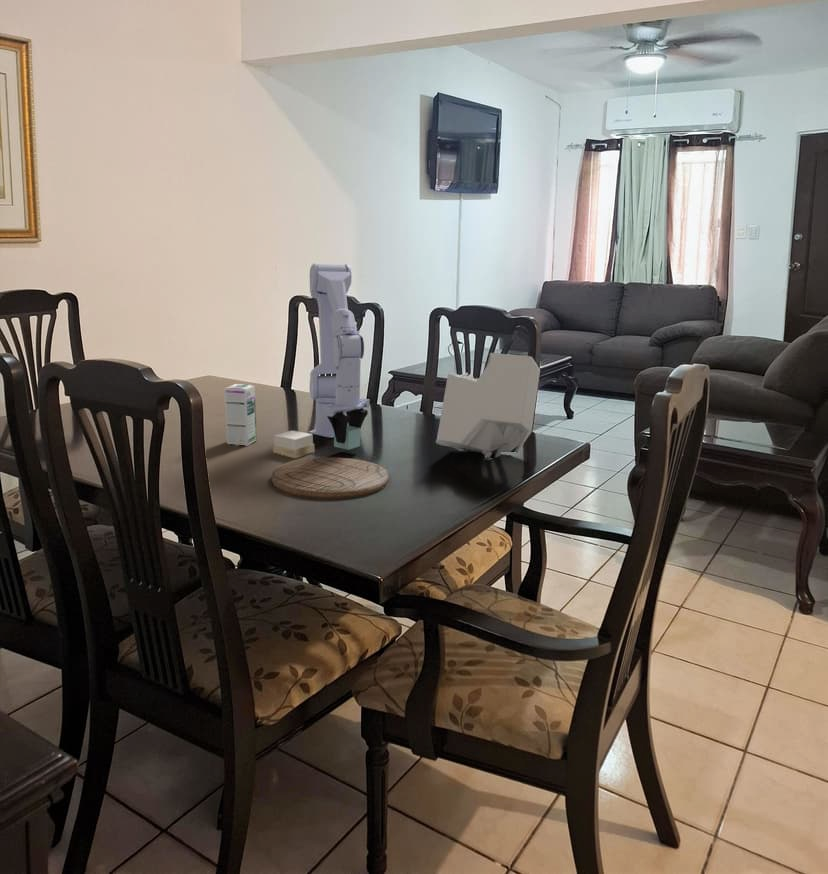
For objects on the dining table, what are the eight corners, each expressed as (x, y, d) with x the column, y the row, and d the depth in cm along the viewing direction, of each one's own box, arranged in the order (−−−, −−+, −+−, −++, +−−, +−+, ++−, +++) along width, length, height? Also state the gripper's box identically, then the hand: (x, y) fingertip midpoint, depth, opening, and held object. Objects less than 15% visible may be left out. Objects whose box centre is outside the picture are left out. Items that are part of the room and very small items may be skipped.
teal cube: (345, 442, 193) (346, 425, 192) (360, 446, 190) (360, 428, 189) (334, 446, 189) (334, 428, 188) (348, 449, 187) (348, 431, 186)
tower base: (293, 449, 194) (293, 439, 193) (314, 454, 190) (314, 444, 190) (273, 455, 188) (273, 444, 188) (294, 460, 185) (294, 450, 184)
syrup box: (247, 446, 193) (246, 388, 189) (225, 444, 194) (224, 386, 191) (257, 440, 198) (256, 384, 195) (235, 438, 200) (233, 382, 196)
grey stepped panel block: (430, 453, 183) (445, 348, 185) (446, 459, 198) (460, 362, 200) (516, 464, 177) (531, 356, 179) (526, 469, 192) (540, 370, 194)
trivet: (319, 459, 186) (319, 451, 185) (409, 478, 173) (410, 470, 173) (246, 485, 165) (246, 476, 164) (343, 509, 152) (343, 499, 152)
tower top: (292, 440, 193) (292, 430, 192) (312, 444, 189) (312, 434, 189) (274, 445, 187) (274, 435, 187) (295, 449, 184) (295, 439, 183)
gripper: (341, 391, 178) (340, 449, 181) (379, 383, 190) (378, 437, 193) (318, 387, 182) (317, 444, 185) (357, 379, 194) (356, 432, 197)
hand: (347, 440), depth 189 cm, fingers closed on teal cube, 4 cm apart
